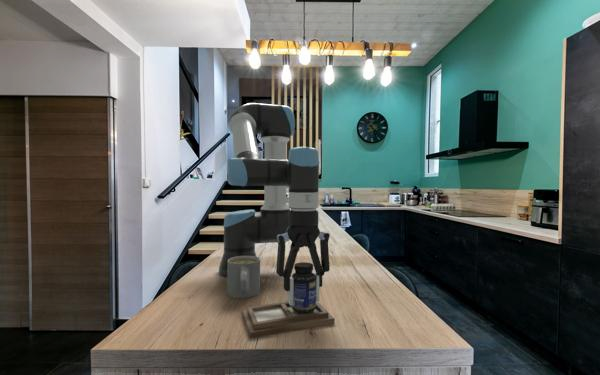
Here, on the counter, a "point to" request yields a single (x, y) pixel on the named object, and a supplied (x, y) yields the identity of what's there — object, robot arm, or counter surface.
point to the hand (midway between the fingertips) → (303, 301)
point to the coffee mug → (243, 276)
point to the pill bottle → (304, 288)
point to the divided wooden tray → (282, 319)
